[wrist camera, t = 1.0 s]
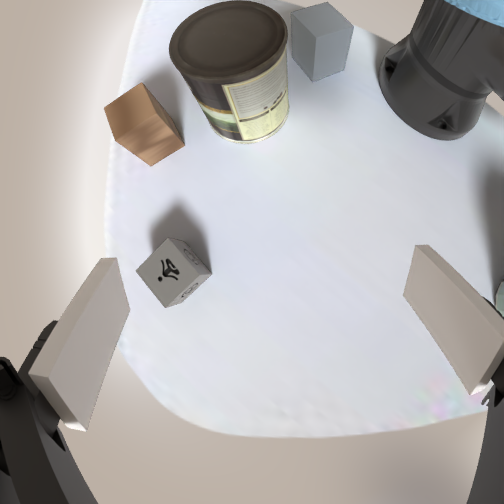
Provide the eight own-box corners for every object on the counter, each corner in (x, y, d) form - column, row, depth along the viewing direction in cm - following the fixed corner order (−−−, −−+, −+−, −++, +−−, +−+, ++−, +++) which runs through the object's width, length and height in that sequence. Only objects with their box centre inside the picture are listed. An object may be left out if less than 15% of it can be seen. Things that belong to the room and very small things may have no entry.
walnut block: (170, 117, 36) (141, 82, 27) (185, 145, 36) (156, 113, 27) (138, 137, 36) (103, 107, 28) (151, 166, 36) (115, 140, 27)
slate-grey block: (323, 46, 34) (327, 1, 25) (344, 70, 34) (353, 26, 25) (292, 57, 35) (290, 12, 26) (312, 82, 34) (316, 37, 25)
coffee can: (202, 145, 35) (157, 84, 21) (212, 77, 36) (180, 6, 22) (288, 146, 34) (286, 77, 20) (291, 76, 34) (288, -2, 20)
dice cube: (212, 274, 34) (199, 275, 29) (181, 302, 35) (165, 308, 30) (184, 241, 35) (167, 237, 30) (155, 270, 35) (135, 270, 30)
